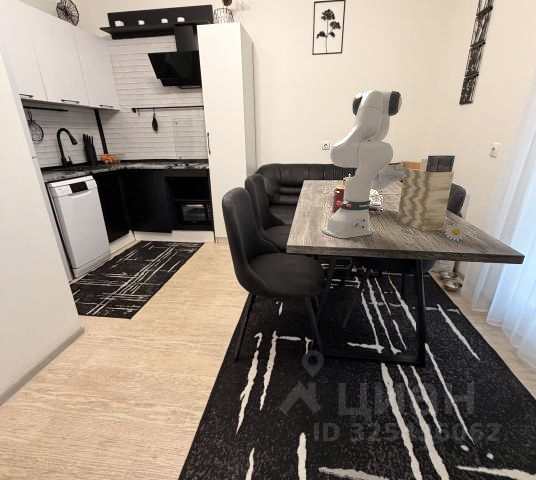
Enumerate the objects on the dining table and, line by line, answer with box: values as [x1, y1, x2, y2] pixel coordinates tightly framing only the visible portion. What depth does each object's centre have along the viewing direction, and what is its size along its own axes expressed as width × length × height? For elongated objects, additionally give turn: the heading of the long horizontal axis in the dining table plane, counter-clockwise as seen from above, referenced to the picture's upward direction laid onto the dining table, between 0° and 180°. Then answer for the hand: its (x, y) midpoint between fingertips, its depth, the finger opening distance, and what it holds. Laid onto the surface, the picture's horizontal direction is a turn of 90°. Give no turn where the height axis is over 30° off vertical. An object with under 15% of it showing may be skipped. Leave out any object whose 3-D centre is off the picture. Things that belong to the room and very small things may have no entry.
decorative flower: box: [435, 223, 468, 242], centre depth 120 cm, size 8×6×15 cm
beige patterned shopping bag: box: [396, 154, 456, 232], centre depth 131 cm, size 19×10×33 cm, turn 11°
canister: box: [331, 180, 347, 213], centre depth 161 cm, size 13×13×18 cm
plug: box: [400, 158, 428, 171], centre depth 132 cm, size 24×6×5 cm, turn 11°
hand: (407, 163), depth 141 cm, fingers closed on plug, 3 cm apart
